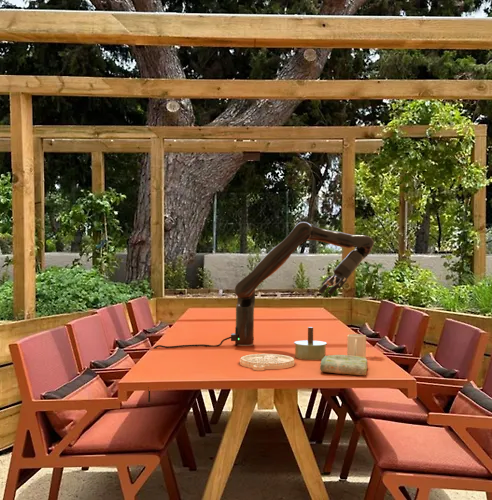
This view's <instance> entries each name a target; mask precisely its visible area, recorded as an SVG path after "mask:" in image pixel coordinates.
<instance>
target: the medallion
mask: <svg viewBox="0 0 492 500" xmlns="http://www.w3.org/2000/svg"><path fill="white" fill-rule="evenodd" d="M295 364H296V363H295V357H292V356H290V355H285V354H278V353H253V354H251V353H250V354H246V355H242V356H241V357H239V365H240V366H242V367H244V368H249V369H252V371H258V372H260V371H265V370H282V369H288V368H292V367H295Z"/></svg>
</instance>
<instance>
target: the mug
mask: <svg viewBox="0 0 492 500" xmlns="http://www.w3.org/2000/svg"><path fill="white" fill-rule="evenodd" d="M346 337H347V339H346V340H347V341H346V355H349V356H361V357H365V358H366V359H367V335H366V334H361V333H350V334H347V336H346Z"/></svg>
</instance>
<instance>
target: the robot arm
mask: <svg viewBox="0 0 492 500" xmlns="http://www.w3.org/2000/svg"><path fill="white" fill-rule="evenodd" d="M306 241H318V242H322V243H326V244H329V245H333V246H335V247H339V248H343V249H352V248H354V249H353V250H351V251H350V252H349V253H348V254H347V255H346V257H344V259H342V260H341V262H339V264H338V265H337V266H336V267H335V268H334V270H333V273H334V274H333V275H331V274H329V275H328V276H327V277H326V278H325V279H324V280H323V281H322V282H321V284H322V286H321V287H320V288H319V289H318V292H319V293H320V294H323V293H324V292H325V291H326V290H327V289H328V288H329V290H328V291H327V293H328V294H329V295H333V294H334V292H336V290H338V289H339V290H340V289H342V287H343V286H344V285H345V283H346V282H347V281H348V279H349V277H350V276H351V275H352V274H353V273H354V272H355V270H356V268H357V267H358V266H359V265H360V264H361V263H362V261H363V260H364V259H366V258H367V257H368V256H369V255H370V253H371V252H372V251H373V248H374V244H375V241H374V239H373V238H372V237H370V236H369V235H365V234H350V233H346V232H341V231H335V230H329V229H324V228H321V227H317V226H315V225H313V224H310V223H309V222H307V221H300V222H298V223H297V224H296V225H295V226H294V228H293V229H292V230H291V232H289V234H288V235H287V236H286V237H285V238H284V239H283V240H282V241H281V242H280V243H278V244H277V245H276V246H274V247H273V248H272V249H271V250H270V251H269V252H267V254H266V255H265V256H264V257H263V258H262V259H261V260H260V261H259V262H258V264H257V265H256V266H254V268H253V269H252V270H251V272H249V273H248V274H246V276H245V277H243V278H242V279H241V280H240V281H239V282H237V283H236V285H235V287H234V294H235V295H236V297H237V300H236V305H235V327H234V330H235V333H234V332H233V333H231V334H230V336H228V337H225V338H223V339H222V340H221V342H220V343H219V344H216V345H213V344H212V345H211V344H200V343H199V344H181V345H180V344H179V345H169V346H168V345H167V346H166V345H163V344H157V345H155V346H154V347H153V349H157V348H165V349H176V348H183V347H184V348H185V347H188V348H189V347H209V348H211V347H213V348H216V347H221V346H222V345H223V343H224V341H227V340H230V341H231V342H234V347H253V346H254V345H255V343H254V341H255V335H254V334H255V306H256V305H255V304H256V289H257V288H258V286H260V284H262V283H263V282H264V281H265V280H266V279H268V278H270V277H271V276H272V275H273V274H275V273H276V272H277V271H278V270H279V269H280V268H281V267H282V266H283V265H284V264H285V263H286V261H288V259H289V258H290V257H291V255H292V254H293V253H294V252H295V250H296V249H297V248H298V247H300V246H301V245H302V244H304V243H305V242H306ZM147 400H148V401H147V402H148V403H150V402H151V390H150V391H149V390H148V399H147Z"/></svg>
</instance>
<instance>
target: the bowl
mask: <svg viewBox="0 0 492 500" xmlns="http://www.w3.org/2000/svg"><path fill="white" fill-rule="evenodd" d="M326 346H327V345H325V346H300V345H295V344H294V358H296V359H299V360H309V361H315V360H316V361H318V360H322V359H323V358H324V356H327V355H326V352H327V351H326V350H327V349H326Z"/></svg>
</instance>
